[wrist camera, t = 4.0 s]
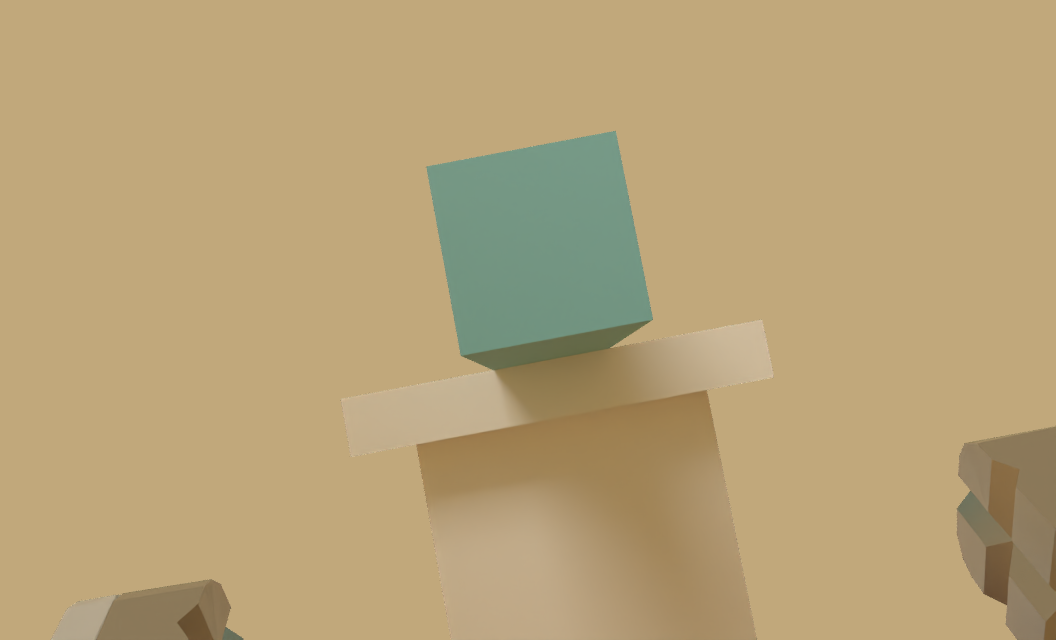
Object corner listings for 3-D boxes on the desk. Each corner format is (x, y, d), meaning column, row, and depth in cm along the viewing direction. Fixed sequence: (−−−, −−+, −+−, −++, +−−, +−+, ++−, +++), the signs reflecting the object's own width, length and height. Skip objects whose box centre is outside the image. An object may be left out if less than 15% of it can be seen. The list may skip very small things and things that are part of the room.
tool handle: (653, 319, 15) (615, 130, 15) (460, 355, 15) (426, 166, 15) (583, 364, 40) (570, 293, 40) (512, 378, 40) (498, 306, 40)
